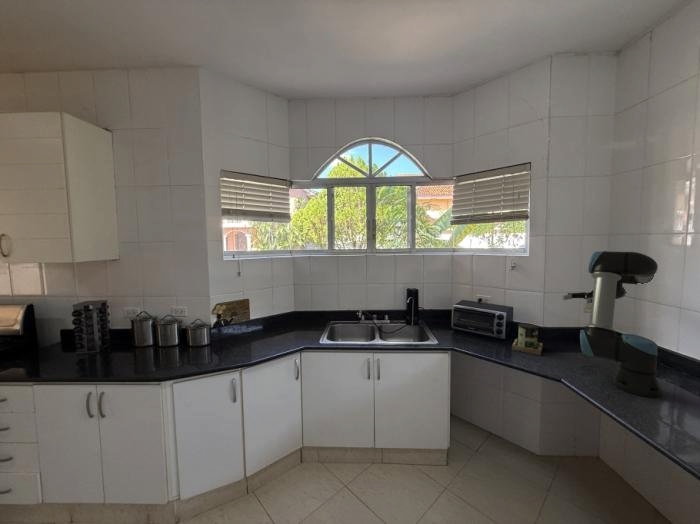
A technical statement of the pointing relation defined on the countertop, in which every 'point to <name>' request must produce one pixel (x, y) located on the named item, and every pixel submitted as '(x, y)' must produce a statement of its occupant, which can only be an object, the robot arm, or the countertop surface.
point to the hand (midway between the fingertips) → (574, 299)
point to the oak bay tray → (527, 350)
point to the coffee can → (527, 335)
